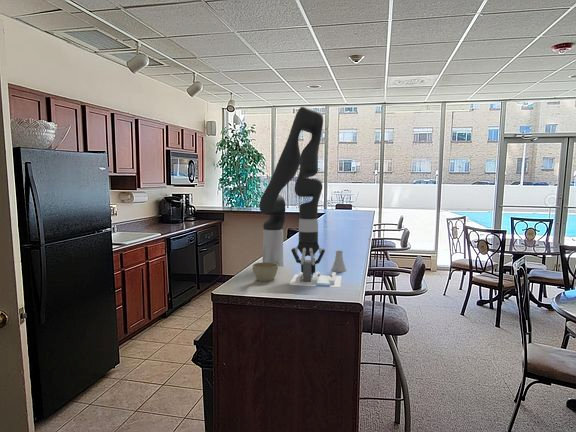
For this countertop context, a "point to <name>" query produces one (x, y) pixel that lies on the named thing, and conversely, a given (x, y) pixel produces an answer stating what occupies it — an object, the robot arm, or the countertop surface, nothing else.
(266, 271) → the flower pot
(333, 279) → the board
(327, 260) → the countertop surface
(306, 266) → the grey rectangular block
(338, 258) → the flask
